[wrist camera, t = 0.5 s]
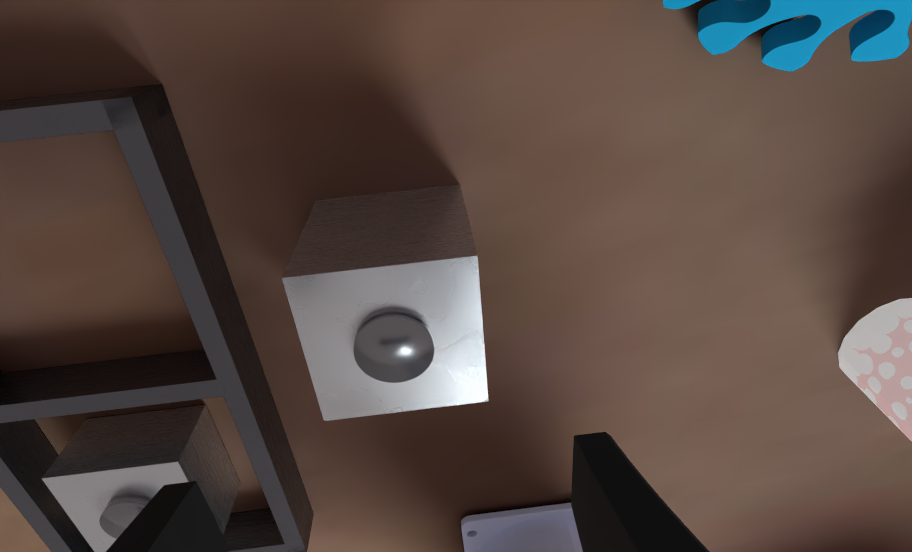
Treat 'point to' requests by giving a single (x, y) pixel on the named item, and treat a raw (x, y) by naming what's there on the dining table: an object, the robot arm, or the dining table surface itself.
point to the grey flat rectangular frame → (160, 376)
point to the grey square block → (389, 303)
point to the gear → (803, 27)
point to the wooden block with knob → (139, 468)
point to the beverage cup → (883, 360)
